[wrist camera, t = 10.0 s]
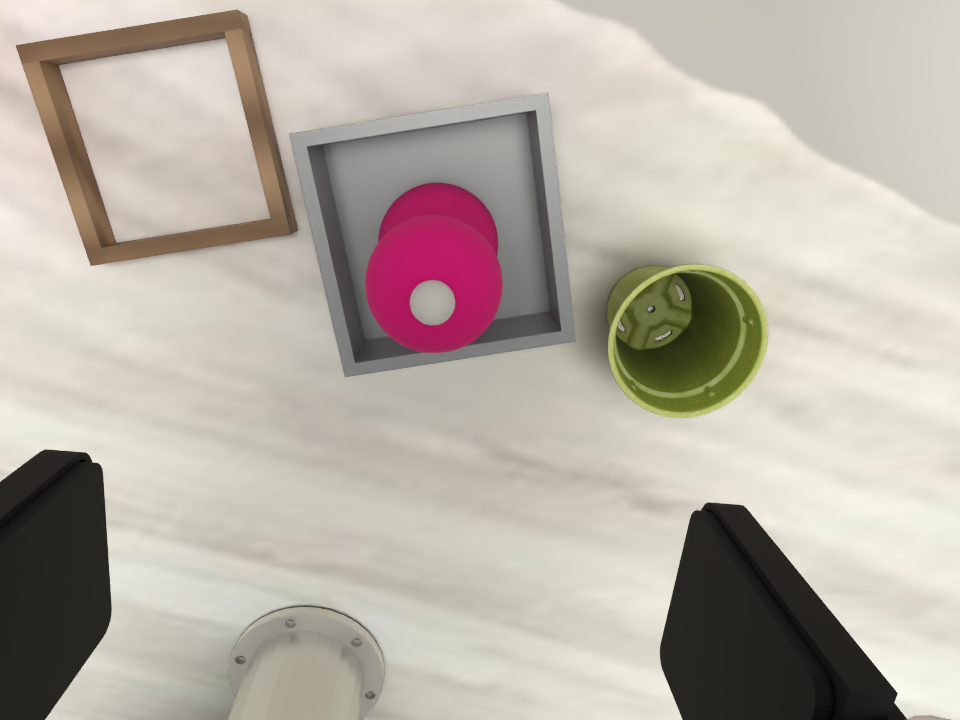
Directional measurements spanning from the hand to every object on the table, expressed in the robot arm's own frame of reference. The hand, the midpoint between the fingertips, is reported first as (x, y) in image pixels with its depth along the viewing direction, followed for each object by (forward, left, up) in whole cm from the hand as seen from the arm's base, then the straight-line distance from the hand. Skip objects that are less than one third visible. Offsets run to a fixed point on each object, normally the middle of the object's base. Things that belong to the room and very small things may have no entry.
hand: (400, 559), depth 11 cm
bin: (0, 0, -36) cm, 36 cm away
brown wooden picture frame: (+8, +16, -36) cm, 41 cm away
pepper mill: (0, 0, -36) cm, 36 cm away
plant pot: (-7, -14, -37) cm, 40 cm away
